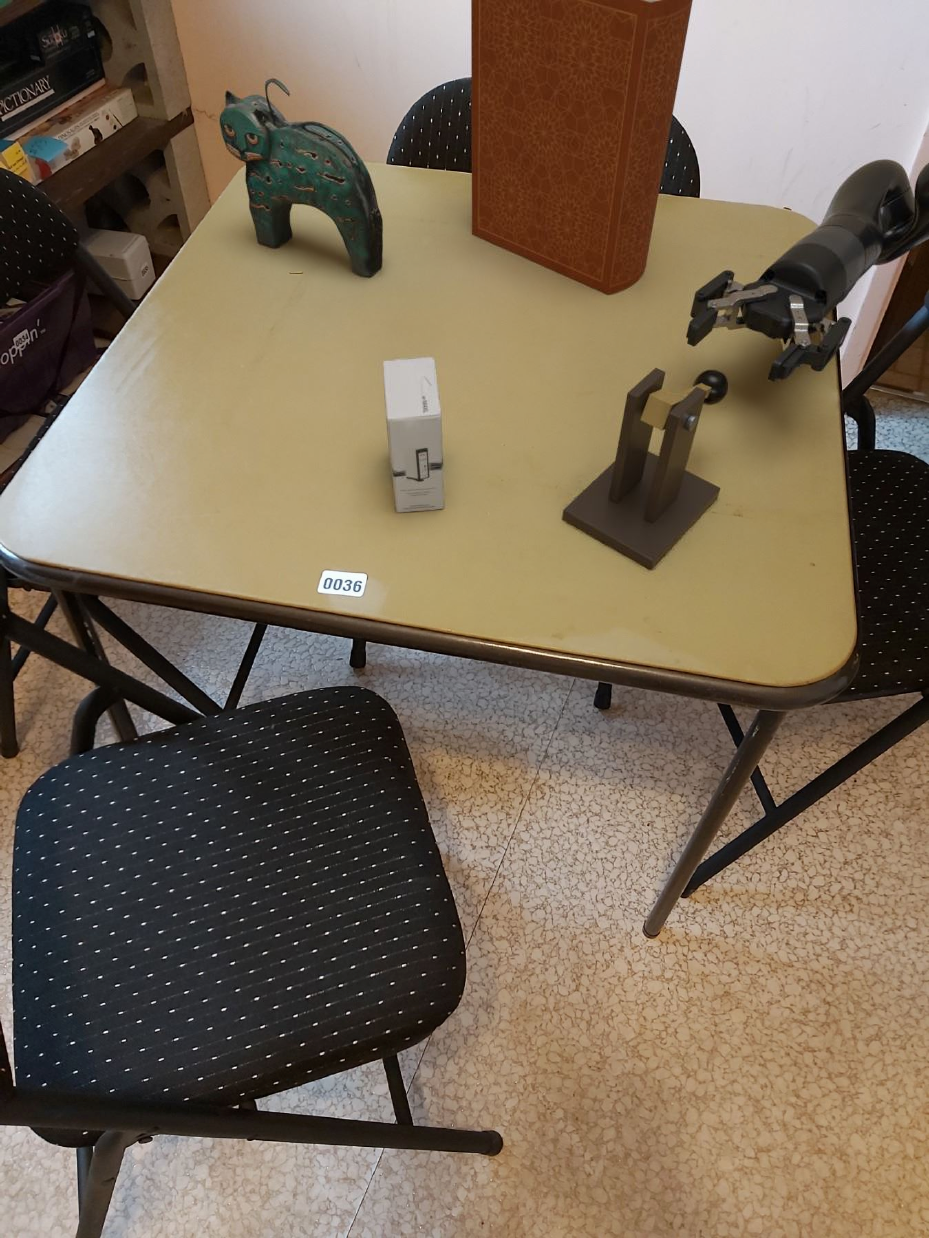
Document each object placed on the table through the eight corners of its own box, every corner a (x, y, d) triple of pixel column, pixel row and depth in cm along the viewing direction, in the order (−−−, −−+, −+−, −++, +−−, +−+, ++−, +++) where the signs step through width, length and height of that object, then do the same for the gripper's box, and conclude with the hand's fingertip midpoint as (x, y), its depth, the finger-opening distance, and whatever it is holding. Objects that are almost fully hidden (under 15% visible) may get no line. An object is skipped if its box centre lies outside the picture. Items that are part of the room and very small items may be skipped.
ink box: (390, 454, 85) (379, 356, 76) (438, 450, 86) (434, 352, 76) (395, 515, 80) (384, 418, 71) (446, 510, 81) (442, 414, 71)
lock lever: (696, 393, 81) (709, 361, 79) (725, 406, 79) (739, 375, 78) (633, 421, 72) (646, 387, 70) (665, 437, 70) (679, 402, 68)
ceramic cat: (242, 244, 110) (202, 73, 94) (272, 221, 113) (239, 53, 97) (367, 286, 104) (348, 111, 87) (396, 261, 107) (382, 88, 91)
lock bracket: (631, 452, 85) (654, 335, 74) (717, 497, 81) (756, 380, 70) (561, 519, 80) (576, 403, 69) (650, 570, 76) (681, 456, 65)
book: (471, 234, 111) (471, -46, 86) (510, 209, 114) (520, -66, 90) (615, 298, 102) (659, 5, 77) (652, 269, 105) (705, -19, 81)
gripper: (758, 220, 85) (673, 291, 78) (893, 269, 79) (815, 351, 72) (739, 287, 91) (659, 358, 84) (863, 337, 86) (789, 419, 78)
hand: (731, 355), depth 78 cm, fingers open, 8 cm apart
